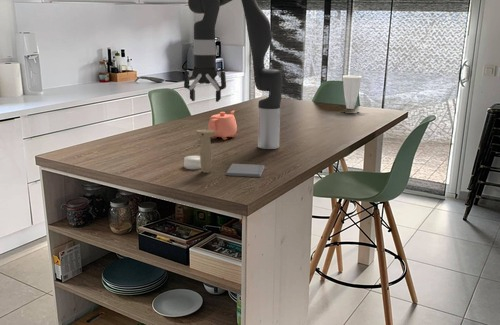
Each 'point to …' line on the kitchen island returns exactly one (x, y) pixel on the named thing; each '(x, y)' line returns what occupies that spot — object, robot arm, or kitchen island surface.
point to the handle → (205, 149)
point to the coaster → (245, 170)
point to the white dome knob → (192, 162)
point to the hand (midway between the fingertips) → (205, 101)
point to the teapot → (223, 125)
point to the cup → (351, 90)
